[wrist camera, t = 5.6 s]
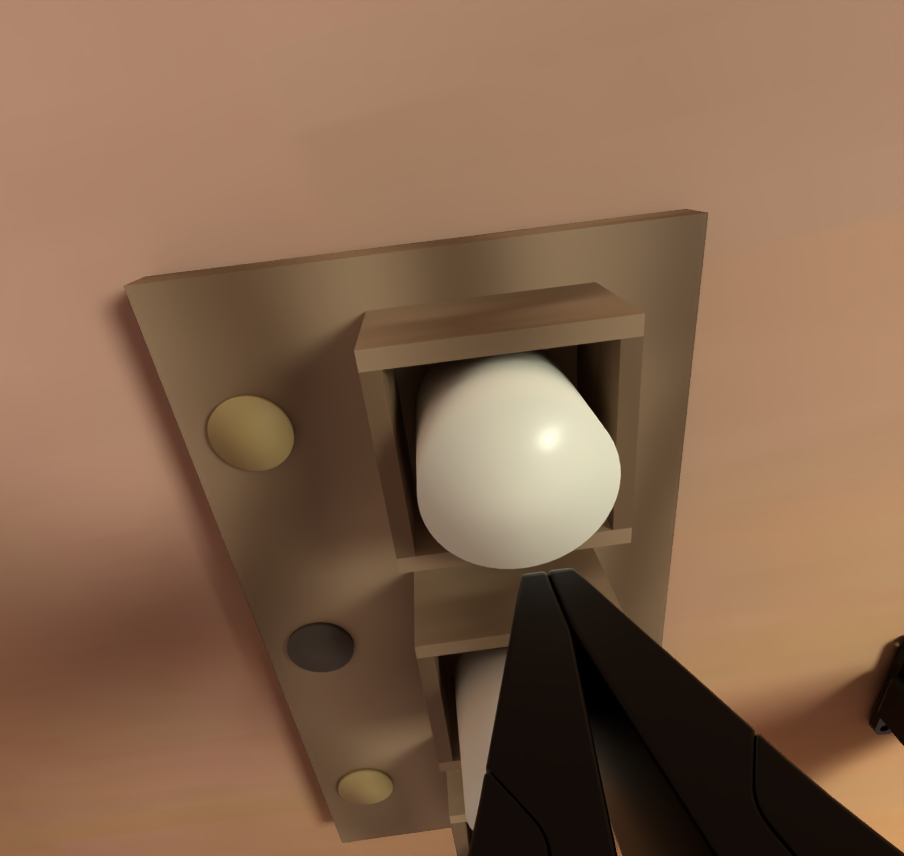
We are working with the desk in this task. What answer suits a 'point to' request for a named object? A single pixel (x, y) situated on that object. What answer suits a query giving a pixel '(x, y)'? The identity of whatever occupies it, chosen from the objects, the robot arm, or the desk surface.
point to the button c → (510, 460)
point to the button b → (476, 717)
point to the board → (394, 466)
